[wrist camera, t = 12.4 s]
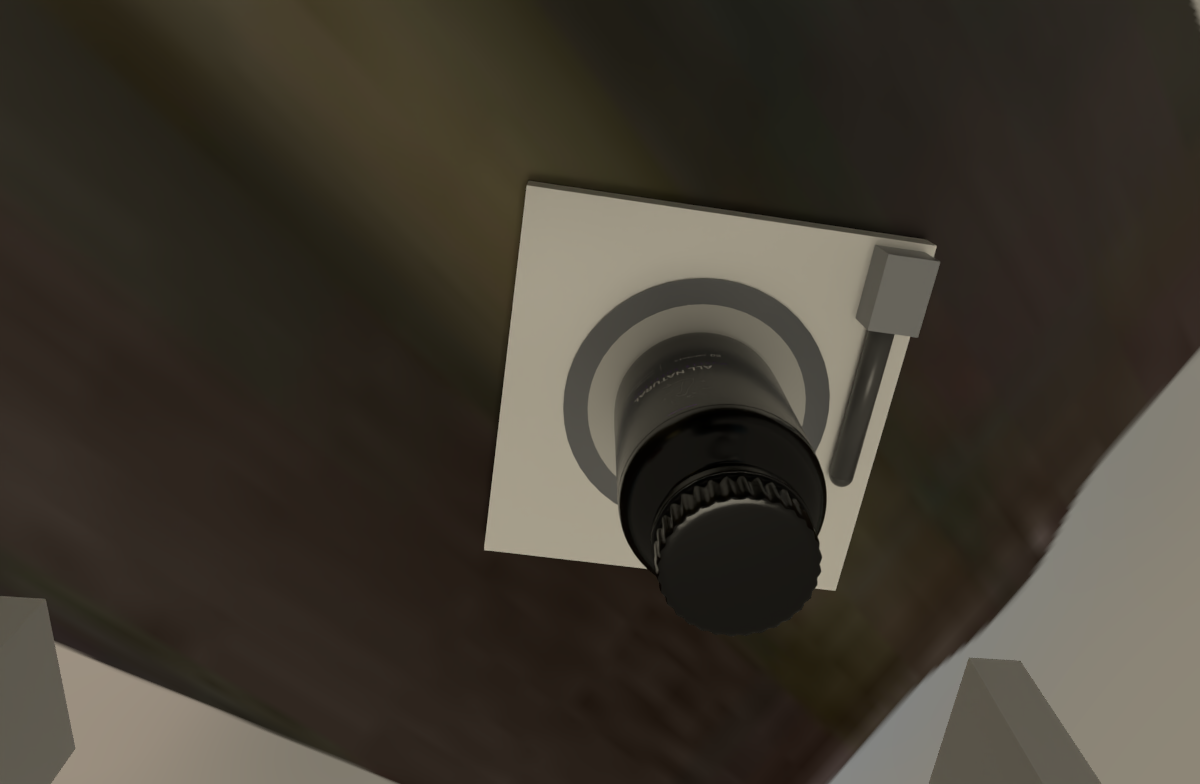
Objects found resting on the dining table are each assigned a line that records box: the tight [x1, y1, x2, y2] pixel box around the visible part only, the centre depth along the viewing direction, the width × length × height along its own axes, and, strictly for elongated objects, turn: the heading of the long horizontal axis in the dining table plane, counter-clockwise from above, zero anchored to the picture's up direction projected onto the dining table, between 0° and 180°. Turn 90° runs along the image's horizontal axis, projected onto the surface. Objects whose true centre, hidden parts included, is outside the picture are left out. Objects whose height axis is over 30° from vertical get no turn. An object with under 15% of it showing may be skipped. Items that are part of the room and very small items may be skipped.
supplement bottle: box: [614, 332, 827, 636], centre depth 31 cm, size 7×7×12 cm
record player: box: [484, 180, 940, 591], centre depth 36 cm, size 16×16×3 cm
